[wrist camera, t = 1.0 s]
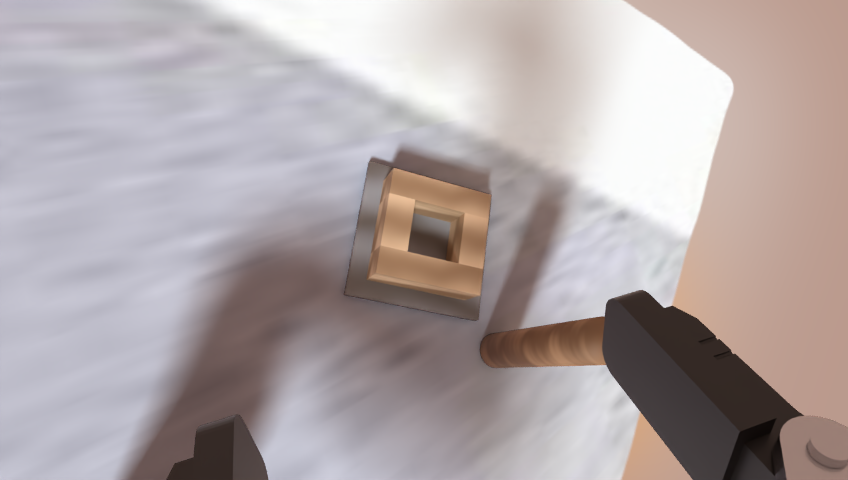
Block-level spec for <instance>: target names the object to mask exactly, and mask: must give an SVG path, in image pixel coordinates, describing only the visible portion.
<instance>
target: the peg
mask: <svg viewBox="0 0 848 480" xmlns="http://www.w3.org/2000/svg"><path fill="white" fill-rule="evenodd" d="M604 321H605V317H595V318H589V319H582V320H576V321H570V322H563V323H557V324H551V325H544V326H538V327H531V328H525V329H519V330H512V331H506V332H500V333H493V334H489V335H487V336H486V337H485V338H484V339H483V341H482V343H481V346H480V354H481V357H482V359H483V361H484V362H485V363H486V364H487V365H488V366H490V367H493V368H509V367H546V366H584V365H606V363H605V360H604V357H603V352H602V342H603V332H604Z"/></svg>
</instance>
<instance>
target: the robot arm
mask: <svg viewBox="0 0 848 480" xmlns="http://www.w3.org/2000/svg"><path fill="white" fill-rule="evenodd" d="M602 352H603V357H604V360H605V363H606V365H607V367H608V369H609V371H610V373H611V374H612V376H613V377H614V378H615V379H616V381H617V382H618V383H619V385H620V386H621V387H622V389H623V390H624V391H625V392H626V394H627V395H628V396H629V398H630V399H631V400H632V401H633V403H634V404H635V405H636V407H637V408H638V409H639V411H640V412H641V413H642V414H643V416H644V417H645V418H646V419H647V421H648V422H649V423H650V425H651V426H652V427H653V429H654V430H655V431H656V432H657V434H658V435H659V436H660V438H661V439H662V440H663V441H664V443H665V444H666V445H667V447H668V448H669V449H670V451H671V452H672V453H673V454H674V456H675V457H676V458H677V460H678V461H679V462H680V464H681V465H682V466H683V467H684V469H685V470H686V471H687V473H688V474H689V475H690V476H691V478H692V479H693V480H848V427H846V426H844V425H842V424H840V423H838V422H835V421H833V420H830V419H826V418H823V417H817V416H804V415H802V414H801V413H799V412H798V411H797V410H796V409H795V408H793V407H792V406H791V405H790V404H789V403H788V402H787V401H786V400H785V399H783V398H782V397H781V396H780V395H779V394H778V393H777V392H776V391H775V390H774V389H773V388H772V387H771V386H769V385H768V384H767V383H766V382H765V381H764V380H763V379H762V378H761V377H760V376H759V375H757V374H756V373H755V372H754V371H753V370H752V369H751V368H750V367H749V366H748V365H747V364H745V362H743V361H742V360H741V359H740V358H739V357H738V356H737V355H736V354H732V352H731V350H730V349H729V348H728V347H727V346H726V345H725V344H724V343H723V342H722V341H721V340H720V339H718V340H717V339H716V336H715V335H714V334H713V333H712V332H711V331H710V330H709V329H708V328H707V327H706V326H705V325H704V324H702V323H701V322H700V321H699V320H698V319H697V318H695V317H693V316H691V315H689V314H687V313H685V312H683V311H681V310H679V309H677V308H676V307H674V306H670V307H667V308H663V307H662V306H661V305H660V304H659V303H658V302H657V301H656V300H655V299H654V298H653V297H652V296H651V295H650V294H649V293H647V292H646V291H643V290H639V291H635V292H632V293H629V294H625V295H622V296H619V297H616V298H612V299H610V300H608V302H607V304H606V311H605V321H604V332H603V342H602ZM167 480H268V475H267V471H266V467H265V463H264V461H263V458H262V456H261V454H260V452H259V450H258V448H257V446H256V444H255V442H254V440H253V438H252V437H251V435H250V433H249V431H248V429H247V427H246V425H245V423H244V421H243V419H242V417H241V416H240V415H238V414H237V415H234V416H231V417H227V418H224V419H221V420H217V421H214V422H211V423H208V424H204V425H201V426H199V427H198V429H197V431H196V437H195V448H194V458H191V459H188V460H184V461H181V462H178V463H175V464H174V466H173V468H172V470H171V472H170V474H169V476H168V478H167Z"/></svg>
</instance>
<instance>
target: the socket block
mask: <svg viewBox="0 0 848 480" xmlns="http://www.w3.org/2000/svg"><path fill="white" fill-rule="evenodd" d="M491 197H492V195H491V194H487V193H484V192H480V191H476V190H473V189H469V188H466V187H462V186H459V185H455V184H451V183H448V182H444V181H441V180H437V179H433V178H430V177H426V176H423V175H419V174H416V173H412V172H408V171H405V170H401V169H398V168H394V167H390V166H387V165H383V164H380V163H376V162H372V161H370V162H369V163H368V168H367V174H366V179H365V185H364V190H363V195H362V201H361V206H360V211H359V217H358V222H357V227H356V233H355V238H354V244H353V249H352V254H351V260H350V265H349V270H348V276H347V281H346V287H345V292H344V295H348V296H353V297H358V298H363V299H368V300H373V301H378V302H383V303H388V304H393V305H398V306H403V307H408V308H413V309H418V310H423V311H428V312H433V313H438V314H443V315H448V316H453V317H458V318H463V319H468V320H473V321H477V320H478V318H479V309H480V299H481V290H482V281H483V271H484V262H485V253H486V244H487V234H488V225H489V216H490V207H491Z"/></svg>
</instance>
